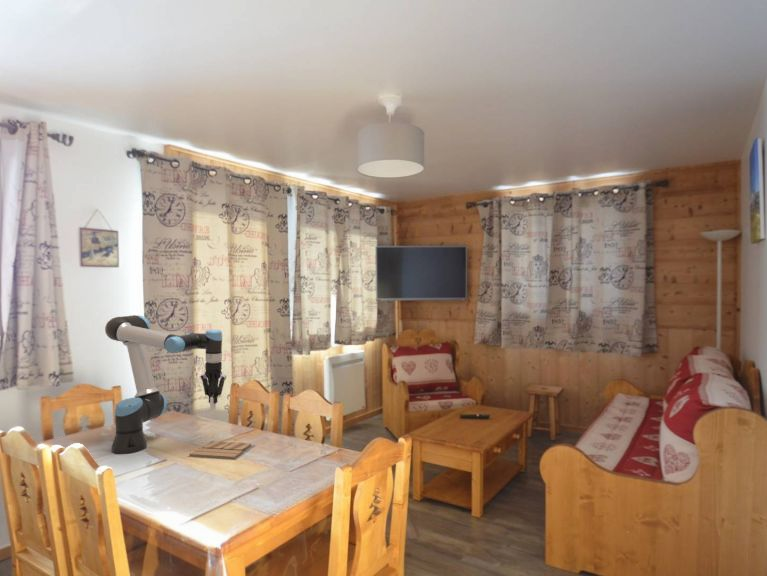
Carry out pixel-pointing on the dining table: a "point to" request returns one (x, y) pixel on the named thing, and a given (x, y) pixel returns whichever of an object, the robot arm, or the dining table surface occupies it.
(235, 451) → the underlay
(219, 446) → the plank
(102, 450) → the dining table surface
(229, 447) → the plank
